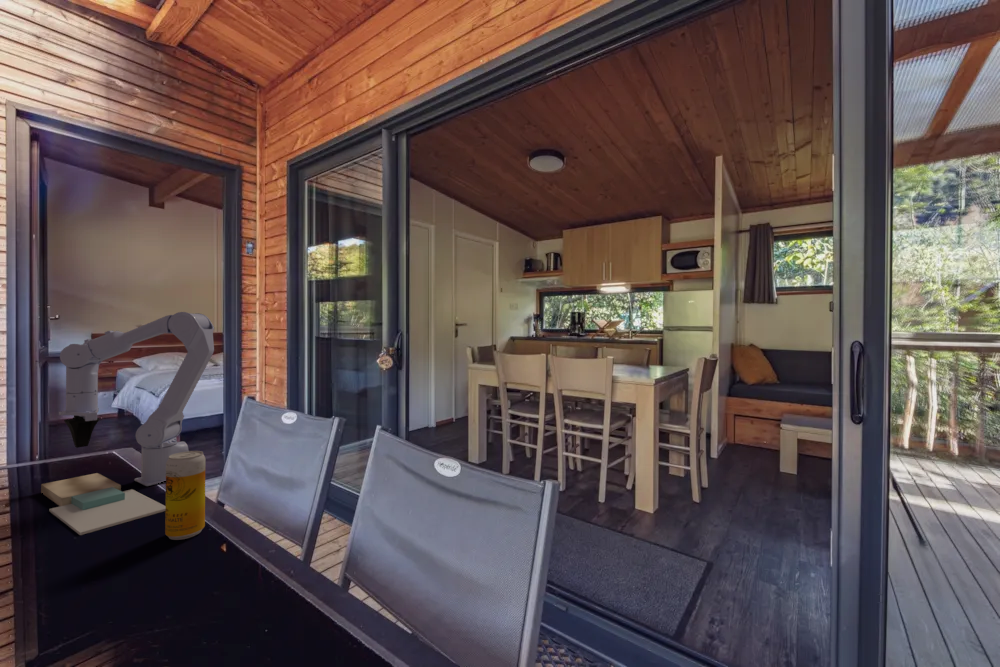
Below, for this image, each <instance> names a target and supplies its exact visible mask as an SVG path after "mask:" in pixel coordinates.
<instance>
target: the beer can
mask: <svg viewBox="0 0 1000 667" xmlns="http://www.w3.org/2000/svg"><path fill="white" fill-rule="evenodd" d="M165 506H166V509H165V511H164V513H165V518H164V519H165V522H164V523H165V524H164V525H165V526H164V527H165V529H164V532H165V533H164V534H165V535H166V536H167V537H168V539H169V540H173V541H179V540H185V539H191V538H193V537H195V536H197V535H199V534H200V533H201V532H202V530H203V529H204V528H205V526H206V456H205V455H204V451H202V450H201V451H200V450H189V451H186V452H180V453H176V454H172V455H170V456H169V459H168V460H167V462H166V482H165Z"/></svg>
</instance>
